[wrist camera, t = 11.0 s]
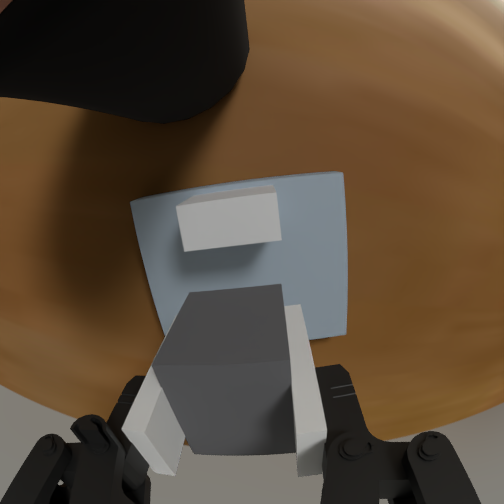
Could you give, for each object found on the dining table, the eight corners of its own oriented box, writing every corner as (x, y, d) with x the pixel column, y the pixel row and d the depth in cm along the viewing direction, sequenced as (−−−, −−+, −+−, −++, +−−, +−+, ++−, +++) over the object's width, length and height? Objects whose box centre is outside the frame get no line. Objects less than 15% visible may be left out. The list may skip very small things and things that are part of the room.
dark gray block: (211, 376, 14) (194, 453, 9) (189, 292, 12) (151, 365, 8) (289, 372, 14) (295, 452, 9) (281, 283, 12) (290, 359, 7)
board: (175, 336, 23) (155, 383, 18) (141, 197, 20) (100, 213, 14) (340, 320, 23) (360, 367, 17) (335, 171, 19) (365, 177, 13)
